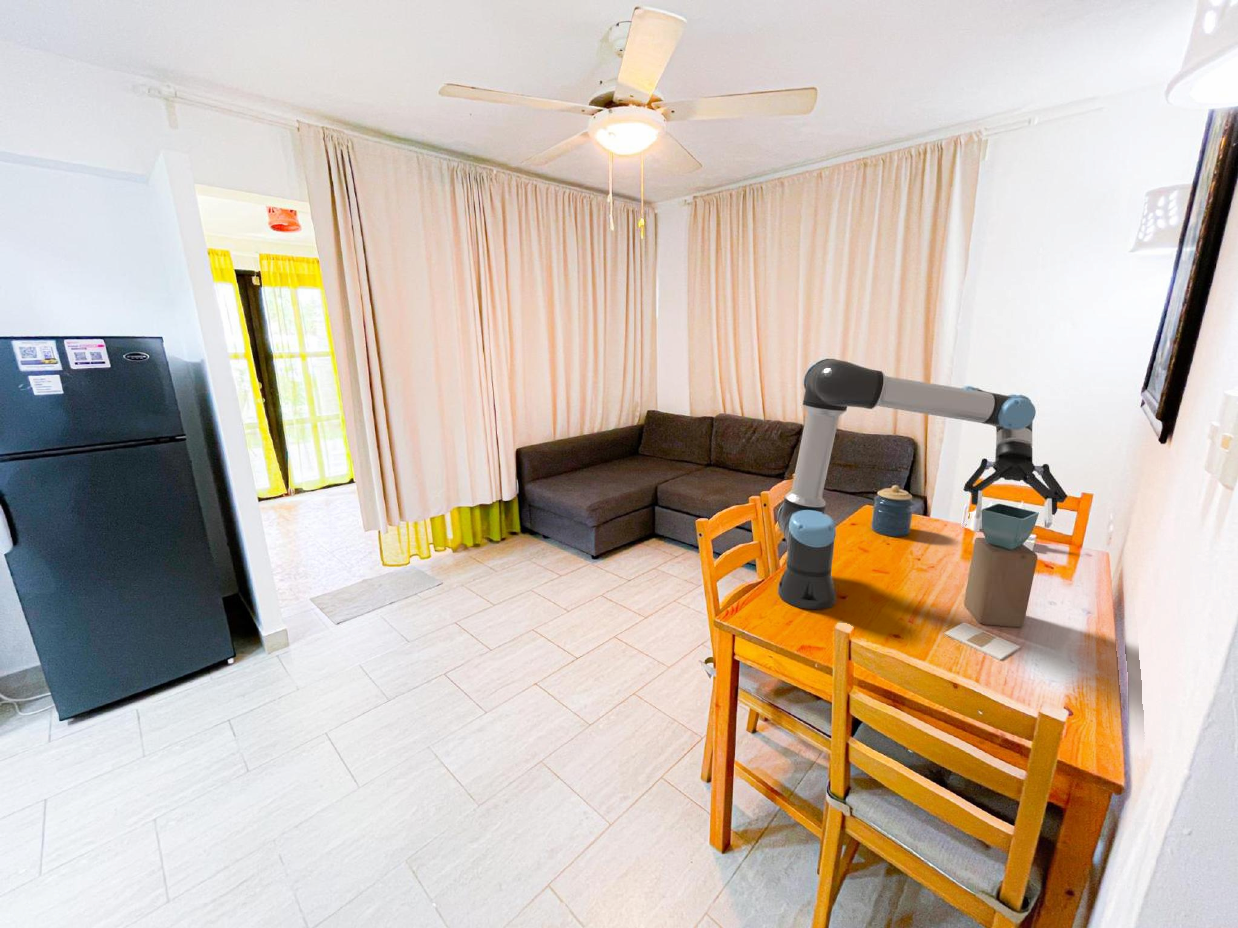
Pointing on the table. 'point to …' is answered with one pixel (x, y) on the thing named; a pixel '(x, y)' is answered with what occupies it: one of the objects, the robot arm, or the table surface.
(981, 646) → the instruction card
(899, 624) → the table surface
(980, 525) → the toy castle
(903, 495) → the canister
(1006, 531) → the flower pot
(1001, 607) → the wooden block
